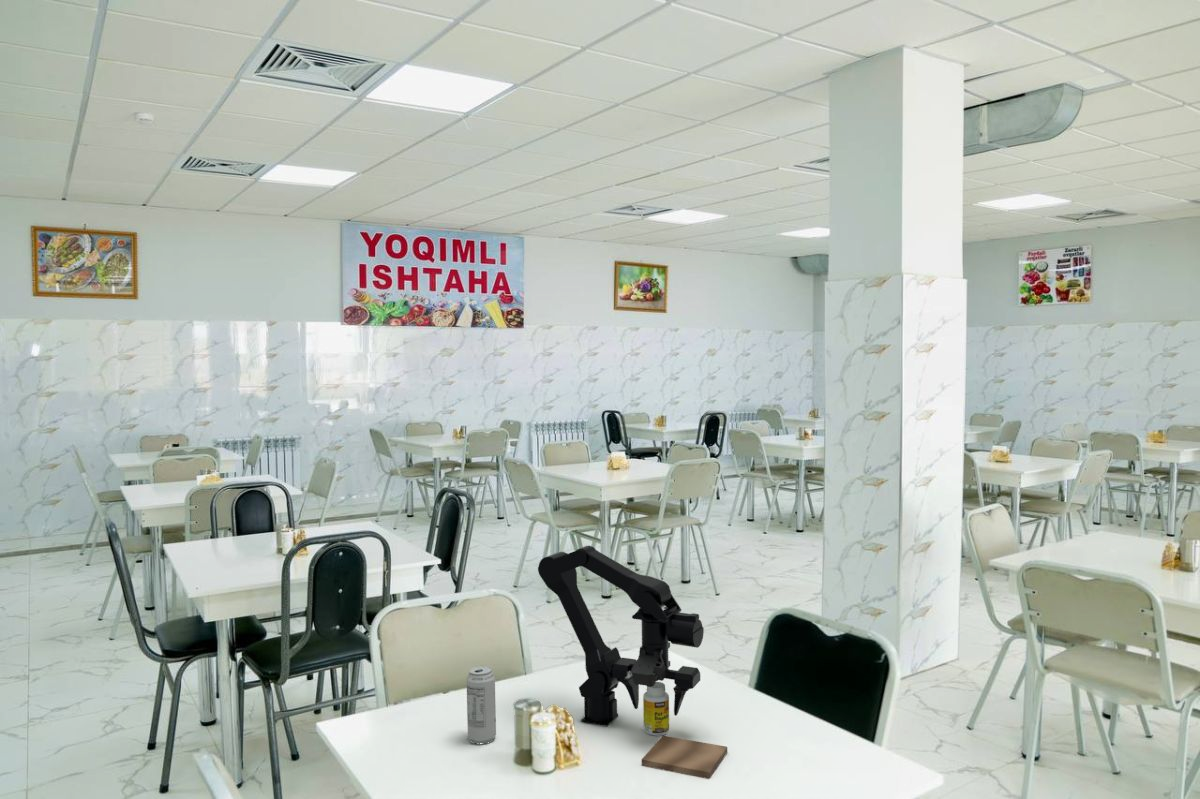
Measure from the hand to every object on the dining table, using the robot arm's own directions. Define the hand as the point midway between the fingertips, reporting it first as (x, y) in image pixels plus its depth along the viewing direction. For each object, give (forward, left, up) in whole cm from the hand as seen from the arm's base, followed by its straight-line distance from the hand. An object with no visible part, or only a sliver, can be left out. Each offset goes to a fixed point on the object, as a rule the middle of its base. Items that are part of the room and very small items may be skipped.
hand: (656, 711), depth 183 cm
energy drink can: (-33, -18, -4) cm, 38 cm away
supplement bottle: (0, 0, -4) cm, 5 cm away
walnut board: (+10, -10, -4) cm, 15 cm away
